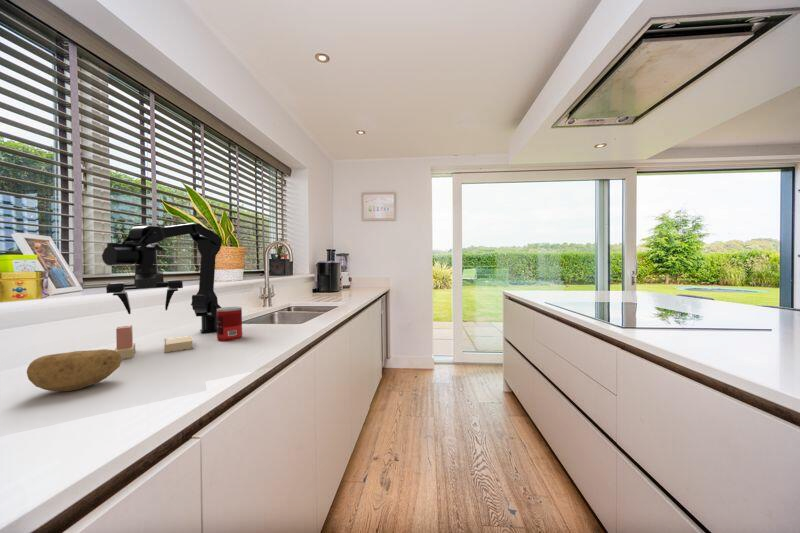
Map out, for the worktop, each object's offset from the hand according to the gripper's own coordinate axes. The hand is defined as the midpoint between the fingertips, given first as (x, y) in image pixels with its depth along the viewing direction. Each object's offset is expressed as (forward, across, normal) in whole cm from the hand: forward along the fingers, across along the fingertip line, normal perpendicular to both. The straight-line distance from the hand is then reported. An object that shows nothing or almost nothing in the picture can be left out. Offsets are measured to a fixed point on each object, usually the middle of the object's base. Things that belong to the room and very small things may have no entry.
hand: (148, 312), depth 98 cm
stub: (+11, -6, -8) cm, 15 cm away
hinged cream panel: (+11, +7, -8) cm, 16 cm away
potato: (+11, -11, -35) cm, 38 cm away
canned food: (+12, +22, -6) cm, 26 cm away
